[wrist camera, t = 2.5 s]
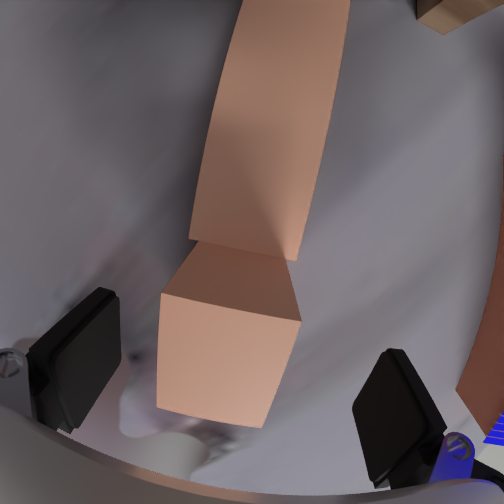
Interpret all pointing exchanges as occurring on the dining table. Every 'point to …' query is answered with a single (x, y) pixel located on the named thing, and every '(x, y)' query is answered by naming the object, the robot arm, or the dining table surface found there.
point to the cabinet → (452, 12)
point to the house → (488, 358)
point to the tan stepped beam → (251, 214)
